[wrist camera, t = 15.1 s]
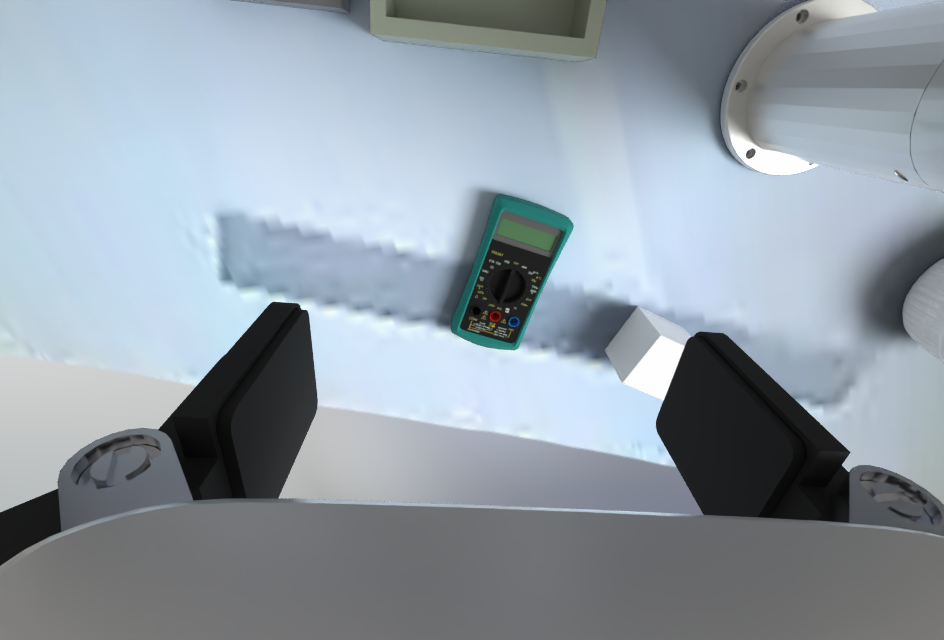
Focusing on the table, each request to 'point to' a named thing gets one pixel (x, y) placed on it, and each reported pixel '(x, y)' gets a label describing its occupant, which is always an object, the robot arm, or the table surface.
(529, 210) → the digital multimeter
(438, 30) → the parts tray
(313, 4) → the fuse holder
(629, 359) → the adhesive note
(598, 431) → the table surface
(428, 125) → the table surface
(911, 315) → the ramekin
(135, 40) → the table surface
